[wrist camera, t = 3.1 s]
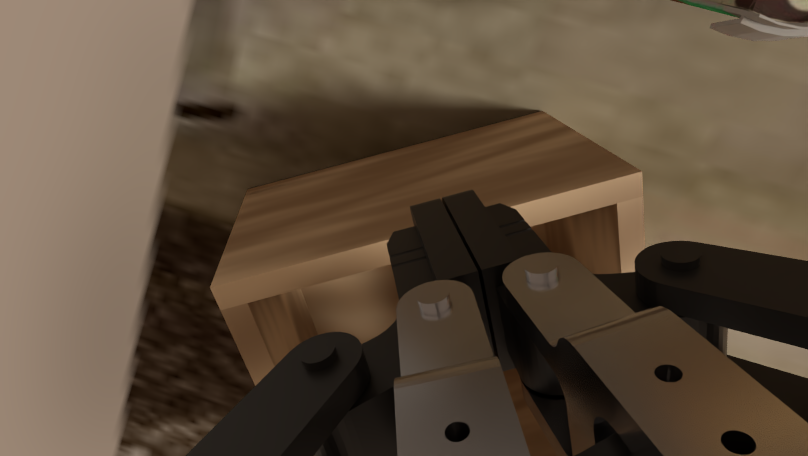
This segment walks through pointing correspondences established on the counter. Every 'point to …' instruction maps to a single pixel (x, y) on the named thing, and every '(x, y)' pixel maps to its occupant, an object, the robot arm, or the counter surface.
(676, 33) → the counter surface
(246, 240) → the wooden box
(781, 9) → the food container
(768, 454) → the robot arm
